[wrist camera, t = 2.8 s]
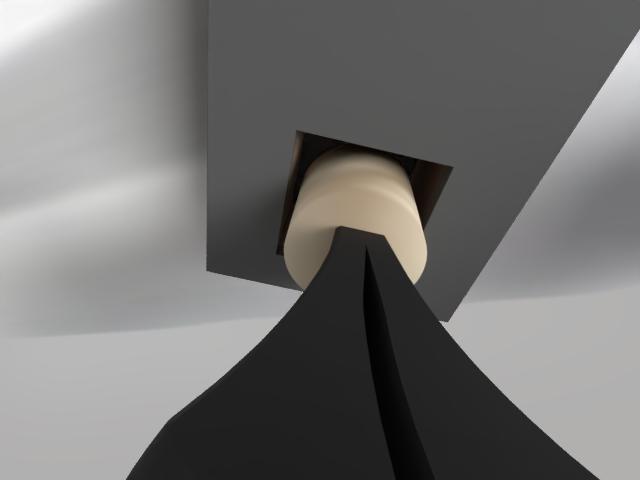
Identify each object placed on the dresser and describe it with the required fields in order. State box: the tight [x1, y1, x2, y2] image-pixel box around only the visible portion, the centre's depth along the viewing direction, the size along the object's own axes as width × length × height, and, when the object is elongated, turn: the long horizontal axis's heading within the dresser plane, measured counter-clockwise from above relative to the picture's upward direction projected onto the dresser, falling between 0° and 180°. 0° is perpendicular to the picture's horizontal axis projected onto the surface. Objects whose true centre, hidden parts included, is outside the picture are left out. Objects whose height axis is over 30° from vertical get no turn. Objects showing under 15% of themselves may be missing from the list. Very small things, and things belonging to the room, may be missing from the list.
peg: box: [284, 144, 427, 291], centre depth 11 cm, size 4×4×4 cm
